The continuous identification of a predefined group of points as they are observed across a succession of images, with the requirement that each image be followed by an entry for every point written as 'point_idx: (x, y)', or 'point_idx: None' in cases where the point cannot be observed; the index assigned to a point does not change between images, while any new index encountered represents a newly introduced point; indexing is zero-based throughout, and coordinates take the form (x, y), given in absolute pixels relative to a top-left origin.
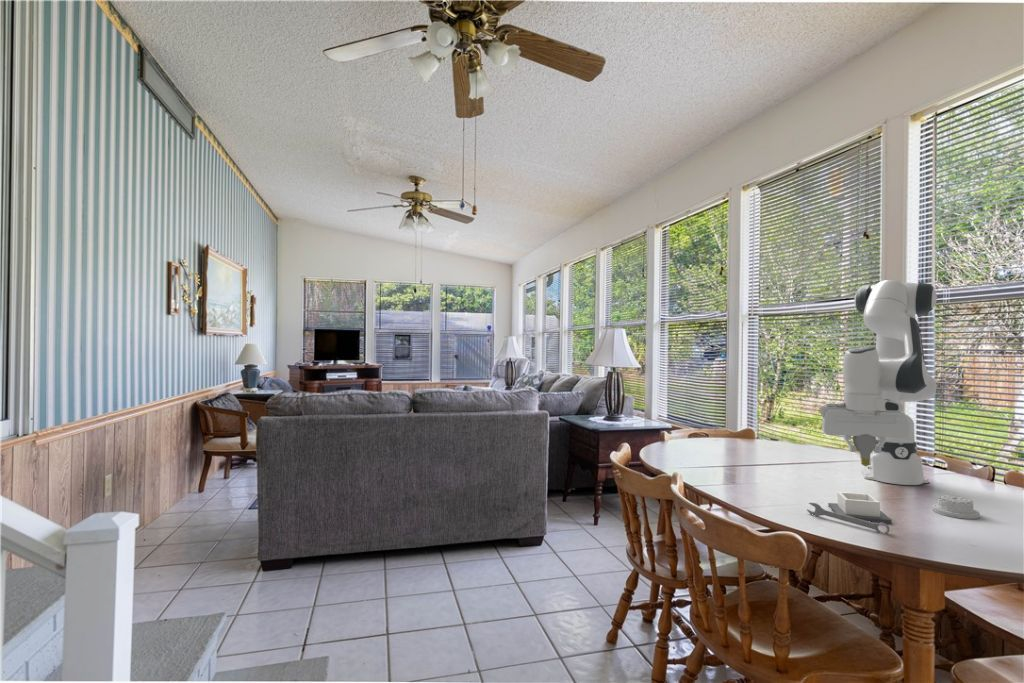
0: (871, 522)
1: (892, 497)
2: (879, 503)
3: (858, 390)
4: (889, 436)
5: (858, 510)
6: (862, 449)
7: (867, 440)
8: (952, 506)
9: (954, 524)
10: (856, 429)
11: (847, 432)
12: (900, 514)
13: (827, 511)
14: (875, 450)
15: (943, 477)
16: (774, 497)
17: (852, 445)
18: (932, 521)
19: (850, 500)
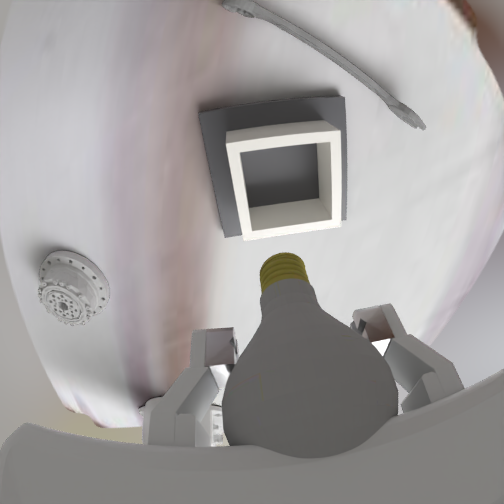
0: (271, 14)
1: (182, 340)
2: (226, 143)
3: None
4: (112, 448)
5: (291, 126)
6: (330, 317)
7: (319, 384)
8: (66, 274)
9: (66, 195)
10: (426, 471)
11: (480, 411)
12: (168, 220)
13: (382, 88)
14: (230, 339)
15: (128, 423)
16: (438, 238)
17: (394, 340)
18: (103, 194)
19: (323, 131)
